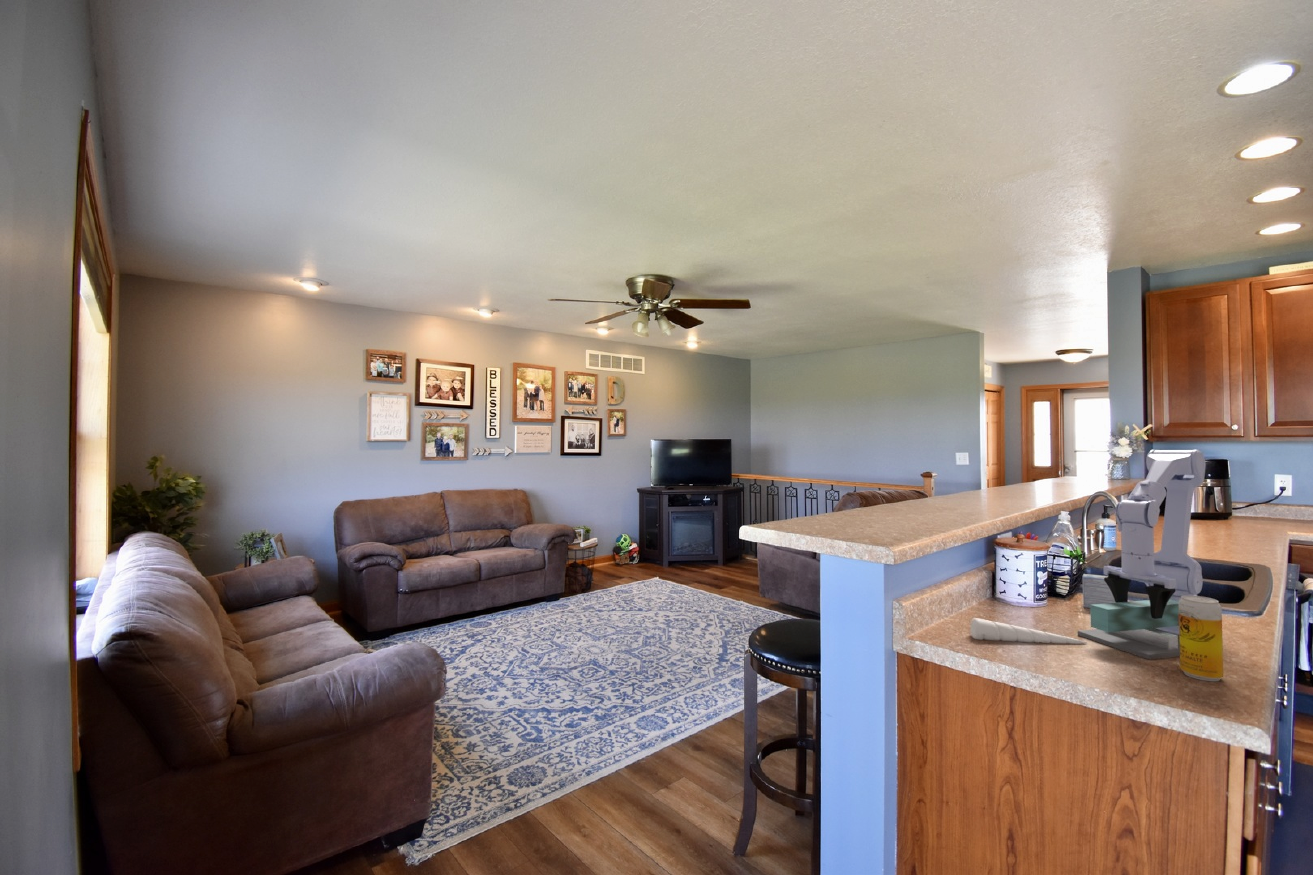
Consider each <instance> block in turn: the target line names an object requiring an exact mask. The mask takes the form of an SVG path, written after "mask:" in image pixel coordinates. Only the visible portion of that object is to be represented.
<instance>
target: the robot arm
mask: <svg viewBox="0 0 1313 875" xmlns="http://www.w3.org/2000/svg"><path fill="white" fill-rule="evenodd" d="M1205 459H1206V458H1205V455H1204V453H1203V452H1202V451H1201V450H1200V449H1161V450H1160V449H1151V450H1150V451H1149V452H1148V453H1147V455H1146V459H1145V460H1146V465H1145V466H1146V469H1147V470H1148V474H1147V475H1146V478H1145V479H1144V480H1140V481H1138V482H1137V483H1136V485H1135V486H1134V488H1133V489H1132V491H1131V492H1130V494H1129V495H1128V497H1127V498H1126V499H1123V500H1122V501H1119V502H1117V504H1116V506H1115V510H1114V511H1115V512H1114V516H1115V520H1116V523H1117V530H1118V532H1120V550H1121V552H1120V554H1121V555H1120V556H1121V557H1120V558H1121V567H1118V566H1112V565H1104V566H1103V575H1104V576H1108V577H1105V578H1104V581H1105V582H1106V584H1107V585H1108V587H1109V588H1110V590H1111V592H1112V594H1113V597H1114V600H1115V603H1118V602H1129V597H1128V596H1129V588H1130V584H1131V581H1135V582H1136V581H1137V582H1139V583H1143V584H1145V585H1146V586H1145V587H1144V588H1145V590H1146V593H1147V596H1148V598H1149V599H1148V600H1150V610H1151V617H1152V618H1154V619H1159V618H1162V616H1163V613H1164V610H1165V607H1166V605H1167V603H1168V601H1169V599H1171V600H1175V601H1179V600H1180V599H1181V596H1185V595H1191V596H1198V594H1200V593H1201V591H1202V588H1203V582H1204V581H1203V575H1202V572H1203V571H1202V566H1201V563H1199V562H1198V561H1197V560H1196V559H1194V558H1193V557H1191V556H1190V555H1188V548H1189V547H1188V545H1189V536H1190V526H1191V518H1192V517H1191V516H1192V507H1193V506H1192V505H1193V499H1194V498H1193V496H1194V492H1195V489H1196V488H1198V487H1201V486H1203V484H1204V481H1205V477H1206V476H1205V474H1206V464H1207V463H1206V460H1205ZM1165 498H1166V499H1165ZM1164 500H1165V506H1164V507H1165V508H1164V515H1163V516H1164V517H1163V518H1164V519H1163V527H1162V537H1161V545H1160V550H1159V551H1157V552H1155V543H1154V541H1155V537H1154V536H1155V535H1154V534H1155V533H1154V532H1155V531H1154V528H1155V527H1156V526H1157V525H1158V521H1159V515H1160V512H1161V509H1160V506H1161V505H1162V503H1163V502H1164ZM1155 629H1157V630H1160V631H1164V632H1167V633H1171V634H1174V635H1177V636H1179V626H1173V627H1162V628H1155Z"/></svg>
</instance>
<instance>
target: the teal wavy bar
mask: <svg viewBox="0 0 1313 875" xmlns="http://www.w3.org/2000/svg"><path fill="white" fill-rule="evenodd" d="M1089 610H1090V611H1089V612H1090V628H1093V629H1099V630H1102V631H1105V632H1119V631H1130V630H1140V629H1151V628H1154V629H1156V628H1162V627H1173V626H1179V601H1175V600H1171V599H1169V601H1168V603H1167V605H1166V607H1165V610H1164V613H1163V616H1162V618H1159V619H1154V618H1152V617H1151V610H1150V600H1149V599H1146V600H1134V601H1133V600H1132V601H1128V602H1118V603H1106V604H1093V605H1090V608H1089Z"/></svg>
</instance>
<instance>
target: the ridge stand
mask: <svg viewBox="0 0 1313 875" xmlns="http://www.w3.org/2000/svg"><path fill="white" fill-rule="evenodd" d="M1077 636H1080V637H1082V638H1084V639H1085V638H1086V639H1088V640H1091V641H1094V642H1097V643H1099V642H1100V644H1103V645H1105V646H1108V647H1110V648H1115V649H1116V650H1117V649H1118V650H1119V651H1123V652H1126V653H1129V654H1131V655H1135V656H1137V657H1140V658H1143V659H1146V660H1156V659H1167V658H1176V657H1180V640H1179V635H1176V634H1173V633H1169V632H1166V631H1162V630H1159V629H1156V628H1151V629H1140V630H1130V631H1119V632H1105V631H1102V630H1099V629H1096V628H1093V629H1084V630H1077Z"/></svg>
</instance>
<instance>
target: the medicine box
mask: <svg viewBox="0 0 1313 875" xmlns="http://www.w3.org/2000/svg"><path fill="white" fill-rule="evenodd" d="M1108 576H1109V575H1099V574H1089V573H1088V574H1086V573H1083V574H1082V576H1081V577H1082V607H1083V608H1089V609H1090V605H1093V604H1106V603H1115V600H1114V597H1113V594H1112V592H1111V590H1110V588H1109V587H1108V585H1107V584H1106V582H1105V581H1104V578H1105V577H1108Z"/></svg>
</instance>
